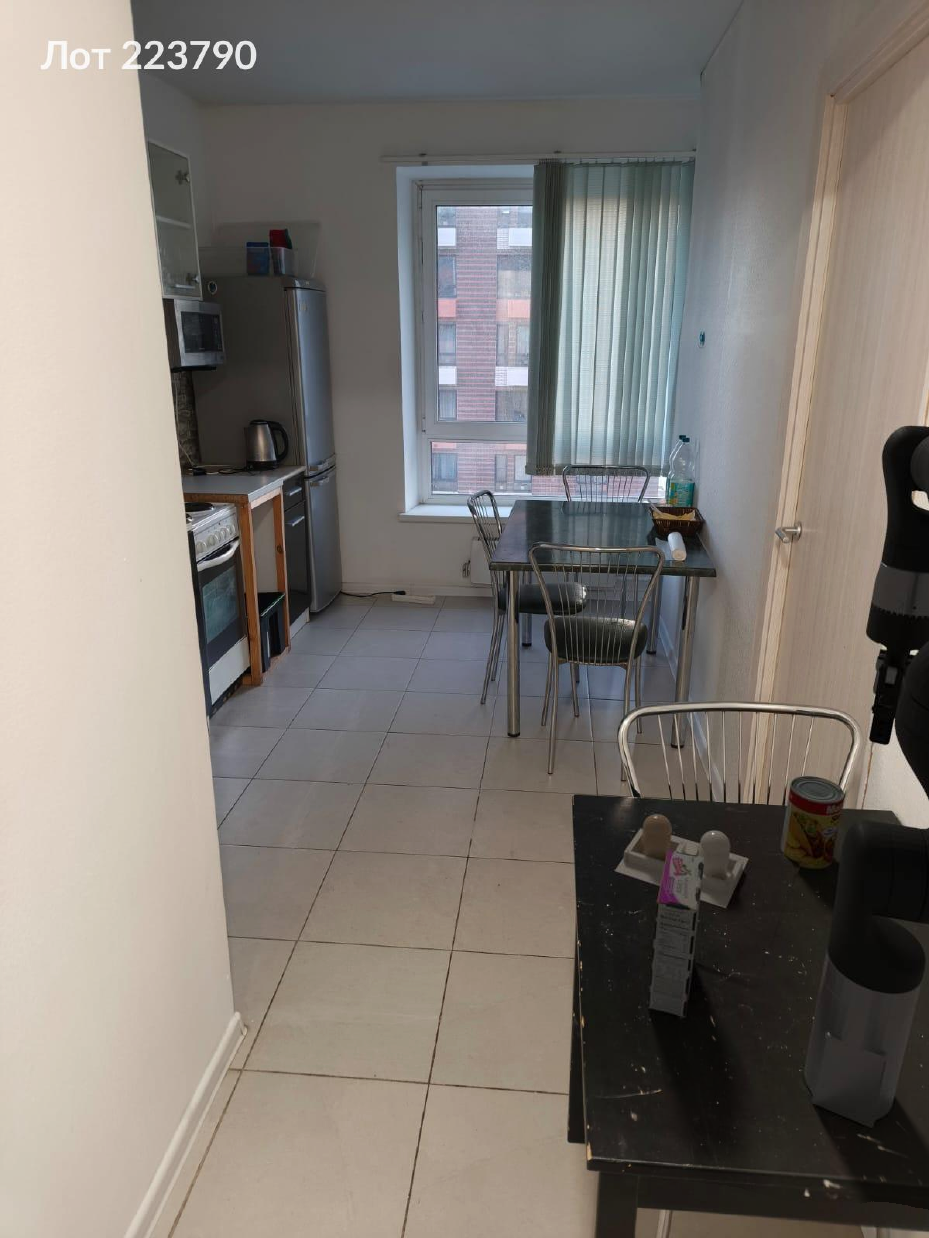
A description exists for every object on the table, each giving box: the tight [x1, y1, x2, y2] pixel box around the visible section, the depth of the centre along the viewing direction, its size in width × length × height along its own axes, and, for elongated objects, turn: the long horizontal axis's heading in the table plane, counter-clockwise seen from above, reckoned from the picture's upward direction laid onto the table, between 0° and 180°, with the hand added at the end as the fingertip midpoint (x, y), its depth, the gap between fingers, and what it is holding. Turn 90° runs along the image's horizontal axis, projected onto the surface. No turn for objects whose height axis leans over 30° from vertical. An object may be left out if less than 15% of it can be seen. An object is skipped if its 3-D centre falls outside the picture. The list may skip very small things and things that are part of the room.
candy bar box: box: [647, 850, 704, 1019], centre depth 108 cm, size 11×5×16 cm, turn 161°
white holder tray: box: [614, 827, 749, 909], centre depth 134 cm, size 14×17×2 cm
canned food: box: [780, 775, 845, 870], centre depth 136 cm, size 8×8×12 cm
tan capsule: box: [641, 813, 673, 862], centre depth 135 cm, size 4×4×7 cm
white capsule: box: [699, 830, 731, 880], centre depth 131 cm, size 4×4×7 cm
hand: (882, 728), depth 105 cm, fingers open, 8 cm apart
